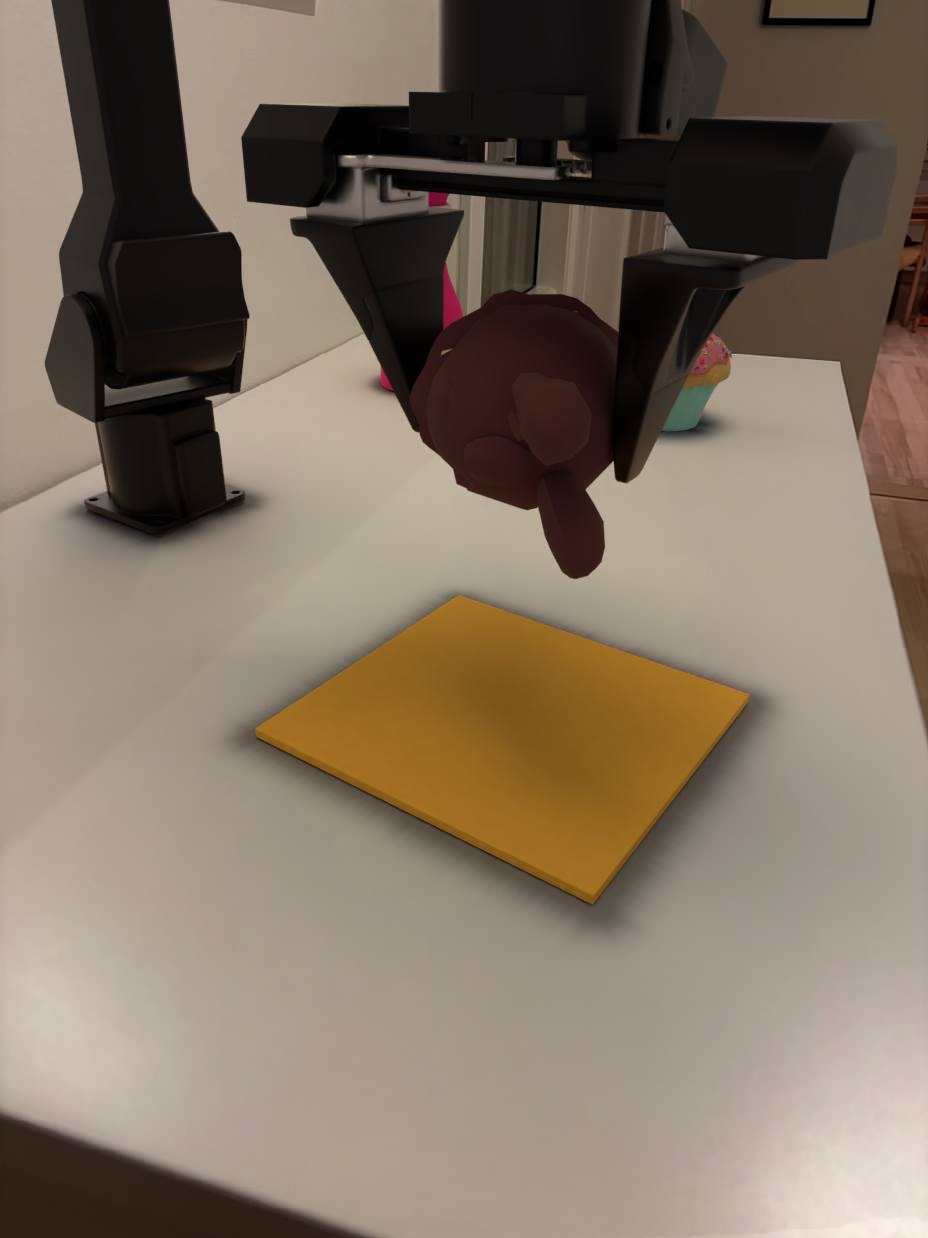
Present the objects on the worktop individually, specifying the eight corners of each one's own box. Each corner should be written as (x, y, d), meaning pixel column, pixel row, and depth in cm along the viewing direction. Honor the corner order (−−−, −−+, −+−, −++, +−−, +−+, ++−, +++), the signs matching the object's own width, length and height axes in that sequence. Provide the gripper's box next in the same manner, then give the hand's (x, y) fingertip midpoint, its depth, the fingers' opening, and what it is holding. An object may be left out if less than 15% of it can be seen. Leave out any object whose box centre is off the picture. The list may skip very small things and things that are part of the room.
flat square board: (255, 737, 34) (254, 728, 34) (458, 601, 44) (458, 594, 44) (592, 905, 28) (593, 895, 27) (748, 702, 37) (750, 694, 37)
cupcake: (723, 444, 64) (753, 258, 58) (599, 434, 65) (615, 252, 59) (719, 408, 71) (745, 240, 65) (607, 400, 73) (622, 235, 67)
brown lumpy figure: (380, 263, 35) (397, 422, 23) (573, 211, 35) (697, 343, 22) (426, 431, 39) (462, 643, 27) (600, 386, 39) (717, 580, 26)
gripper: (1007, -119, 25) (871, 446, 33) (439, -71, 34) (438, 361, 42) (913, -224, 17) (762, 558, 25) (203, -125, 26) (255, 422, 34)
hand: (521, 453), depth 31 cm, fingers closed on brown lumpy figure, 7 cm apart
